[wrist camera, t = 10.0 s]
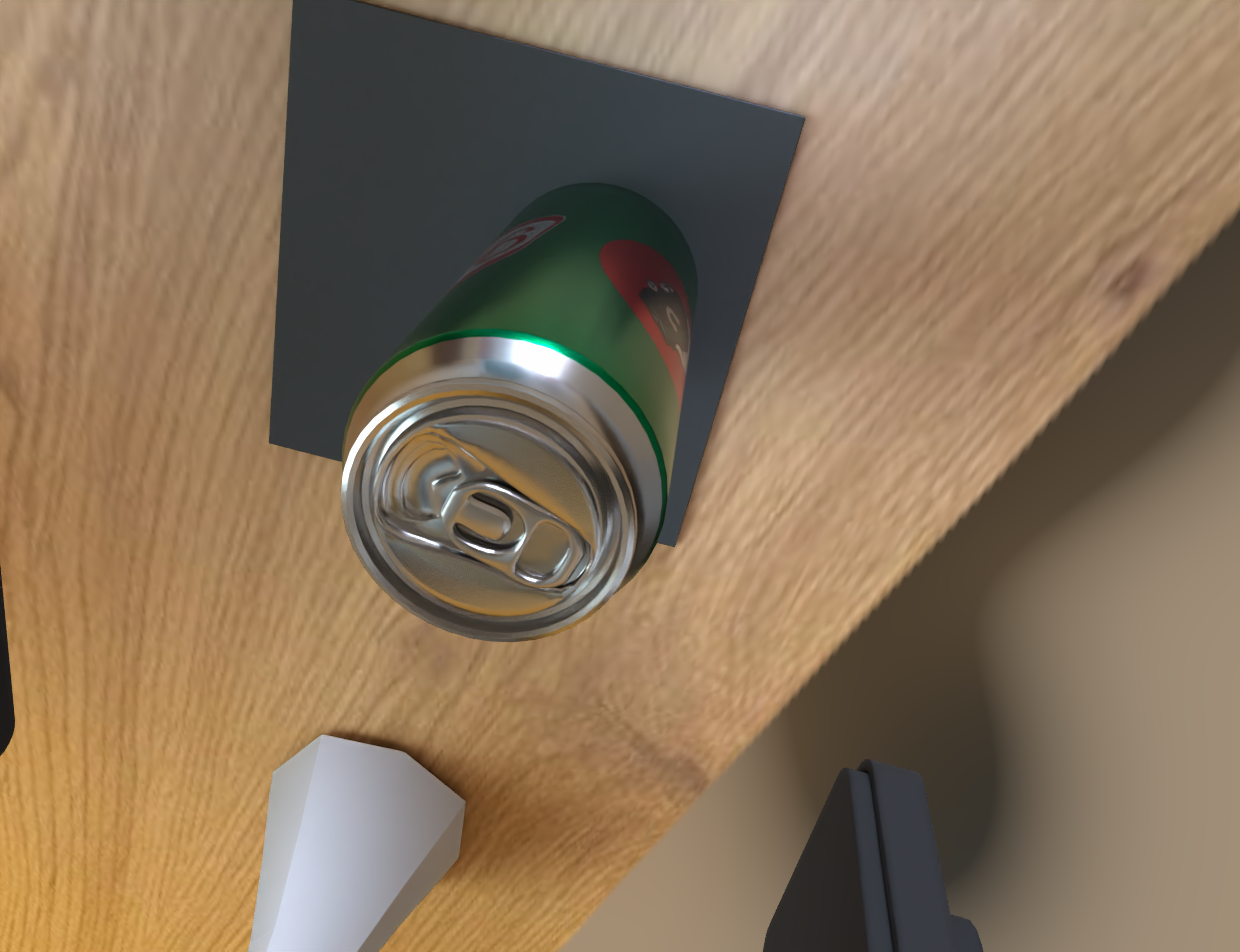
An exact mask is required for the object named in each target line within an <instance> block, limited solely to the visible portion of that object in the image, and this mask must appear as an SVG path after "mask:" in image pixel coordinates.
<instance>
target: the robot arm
mask: <svg viewBox="0 0 1240 952" xmlns="http://www.w3.org/2000/svg"><path fill="white" fill-rule="evenodd" d="M14 728H15V716H14V705H13V694H12V684H11V673H10V662H9V652H8V641H7V631H6V620H5V609H4V599H3V588H2V577H1V567H0V756H1V755H2V753H3V752H4V751H5V749H6V748H7V746H8V744H9V742H10V740H11V738H12V735H13V732H14ZM763 952H983V948H982V944H981V941H980V938H979V935H978V932H977V930H976V928H975V927H974V925H973V924H972V923H971V921H970V920H968V919H965V918H962V917H959V916H954V915H951V914H950V911H949V906H948V901H947V897H946V891H945V886H944V881H943V876H942V871H941V867H940V861H939V856H938V852H937V847H936V842H935V837H934V832H933V827H932V822H931V817H930V812H929V807H928V803H927V797H926V793H925V788H924V783H923V780H922V777H921V776H920V775H919V774H918V772H914V771H911V770H907V769H903V768H899V767H896V766H892V765H888V764H884V763H881V762H877V761H873V760H869V759H865V760H864V761H863V762H862V763H861V764H860V766H859V767H858V769H857V770H853V769H849V768H843V769H842V770H841V771H840V773H839V775H838V777H837V779H836V781H835V783H834V785H833V788H832V790H831V792H830V794H829V796H828V799H827V801H826V803H825V805H824V807H823V809H822V811H821V814H820V816H819V818H818V820H817V822H816V825H815V827H814V829H813V831H812V833H811V835H810V838H809V840H808V842H807V844H806V847H805V849H804V851H803V853H802V855H801V857H800V859H799V862H798V864H797V866H796V868H795V870H794V872H793V875H792V877H791V879H790V881H789V883H788V885H787V888H786V890H785V892H784V894H783V896H782V899H781V901H780V903H779V905H778V907H777V909H776V912H775V914H774V916H773V918H772V920H771V923H770V925H769V927H768V930H767V934H766V938H765V943H764V949H763Z"/></svg>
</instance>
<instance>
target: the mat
mask: <svg viewBox="0 0 1240 952" xmlns="http://www.w3.org/2000/svg"><path fill="white" fill-rule="evenodd" d="M804 121H805V117H804V116H801V115H797V114H793V113H789V112H785V111H781V110H777V109H773V108H770V107H766V106H762V105H758V104H754V103H750V102H746V101H743V100H739V99H735V98H731V97H727V96H723V95H719V94H715V93H712V92H708V91H704V90H700V89H696V88H692V87H688V86H685V85H681V84H677V83H673V82H669V81H665V80H661V79H657V78H654V77H650V76H646V75H642V74H638V73H634V72H630V71H627V70H623V69H619V68H615V67H611V66H607V65H603V64H599V63H596V62H592V61H588V60H584V59H580V58H576V57H572V56H569V55H565V54H561V53H557V52H553V51H549V50H545V49H541V48H538V47H534V46H530V45H526V44H522V43H518V42H514V41H511V40H507V39H503V38H499V37H495V36H491V35H487V34H483V33H480V32H476V31H472V30H468V29H464V28H460V27H456V26H453V25H449V24H445V23H441V22H437V21H433V20H429V19H425V18H422V17H418V16H414V15H410V14H406V13H402V12H398V11H395V10H391V9H387V8H383V7H379V6H375V5H371V4H368V3H364V2H360V1H356V0H293V10H292V29H291V47H290V66H289V84H288V102H287V121H286V139H285V158H284V176H283V194H282V213H281V231H280V250H279V268H278V286H277V305H276V323H275V342H274V360H273V379H272V397H271V415H270V434H269V443H271V444H275V445H278V446H282V447H286V448H290V449H294V450H298V451H302V452H306V453H310V454H314V455H317V456H321V457H325V458H329V459H333V460H337V461H341V462H342V447H343V440H344V433H345V427H346V425H347V422H348V419H349V416H350V413H351V410H352V407H353V405H354V403H355V402H356V400H357V398H358V396H359V394H360V393H361V391H362V389H363V387H364V386H365V385H366V383H367V382H368V381H369V380H370V379H371V378H372V376H373V375H374V374H375V373H376V372H377V370H378V369H379V368H380V367H381V366H382V365H383V364H384V363H385V361H386V360H387V359H388V358H389V357H390V356H391V355H392V354H393V353H394V351H395V350H396V349H397V348H398V347H399V346H400V345H401V344H402V343H403V341H404V340H405V339H406V338H407V337H408V336H409V335H410V334H411V333H412V331H413V330H414V329H415V328H416V327H417V326H418V325H419V324H420V323H421V321H422V320H423V319H424V318H425V317H426V316H427V315H428V314H429V313H430V312H431V310H432V309H433V308H434V307H435V306H436V305H437V304H438V303H439V302H440V300H441V299H442V298H443V297H444V296H445V295H446V294H447V293H448V292H449V290H450V289H451V288H452V287H453V286H454V285H455V284H456V283H457V282H458V280H459V279H460V278H461V277H462V276H463V275H464V274H465V273H466V272H467V270H468V269H469V268H470V267H471V266H472V265H473V264H474V263H475V262H476V260H477V259H478V258H479V257H480V256H481V255H482V254H483V253H484V252H485V250H486V249H487V248H488V247H489V246H490V245H491V244H492V243H493V242H494V240H495V239H496V238H497V237H498V236H499V235H500V234H501V233H502V232H503V230H504V229H505V228H506V227H507V226H508V225H509V224H510V223H511V222H512V220H513V219H514V218H515V217H516V216H517V215H518V214H519V213H520V212H521V210H523V209H524V208H525V207H526V206H527V205H529V204H530V203H531V202H532V201H533V200H535V199H537V198H538V197H540V196H542V195H543V194H545V193H547V192H549V191H552V190H554V189H557V188H560V187H562V186H566V185H571V184H576V183H592V182H597V183H605V184H612V185H616V186H620V187H623V188H626V189H629V190H632V191H634V192H636V193H638V194H640V195H642V196H644V197H646V198H647V199H649V200H650V201H651V202H653V203H654V204H656V205H657V206H659V207H660V208H661V209H662V210H663V211H664V212H665V213H666V214H667V215H668V216H669V217H670V218H671V219H672V220H673V221H674V223H675V224H676V225H677V227H678V228H679V229H680V231H681V232H682V234H683V236H684V238H685V239H686V241H687V243H688V245H689V247H690V250H691V253H692V256H693V259H694V262H695V267H696V272H697V278H698V296H697V303H696V310H695V317H694V324H693V330H692V337H691V344H690V351H689V358H688V365H687V372H686V378H685V385H684V392H683V399H682V406H681V413H680V420H679V427H678V433H677V440H676V447H675V454H674V461H673V468H672V475H671V482H670V488H669V495H668V502H667V509H666V515H665V522H664V525H663V527H662V530H661V533H660V536H659V539H658V542H657V543H660V544H664V545H668V546H672V547H675V545H676V542H677V539H678V535H679V532H680V529H681V525H682V522H683V519H684V516H685V512H686V509H687V506H688V502H689V499H690V496H691V493H692V489H693V486H694V483H695V479H696V476H697V473H698V470H699V466H700V463H701V460H702V456H703V453H704V450H705V446H706V443H707V440H708V437H709V433H710V430H711V427H712V423H713V420H714V417H715V414H716V410H717V407H718V404H719V400H720V397H721V394H722V391H723V387H724V384H725V381H726V377H727V374H728V371H729V367H730V364H731V361H732V358H733V354H734V351H735V348H736V344H737V341H738V338H739V335H740V331H741V328H742V325H743V321H744V318H745V315H746V312H747V308H748V305H749V302H750V298H751V295H752V292H753V288H754V285H755V282H756V279H757V275H758V272H759V269H760V265H761V262H762V259H763V256H764V252H765V249H766V246H767V242H768V239H769V236H770V232H771V229H772V226H773V223H774V219H775V216H776V213H777V209H778V206H779V203H780V200H781V196H782V193H783V190H784V186H785V183H786V180H787V177H788V173H789V170H790V167H791V163H792V160H793V157H794V153H795V150H796V147H797V144H798V140H799V137H800V134H801V130H802V127H803V124H804Z"/></svg>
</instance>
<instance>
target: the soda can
mask: <svg viewBox="0 0 1240 952" xmlns="http://www.w3.org/2000/svg"><path fill="white" fill-rule="evenodd" d="M697 296H698V278H697V272H696V267H695V262H694V259H693V256H692V253H691V250H690V247H689V245H688V243H687V241H686V239H685V238H684V236H683V234H682V232H681V231H680V229H679V228H678V227H677V225H676V224H675V223H674V221H673V220H672V219H671V218H670V217H669V216H668V215H667V214H666V213H665V212H664V211H663V210H662V209H661V208H660V207H659V206H657V205H656V204H654V203H653V202H651V201H650V200H649V199H647V198H646V197H644V196H642V195H640V194H638V193H636V192H634V191H632V190H629V189H626V188H623V187H620V186H616V185H612V184H605V183H597V182H592V183H576V184H571V185H566V186H562V187H560V188H557V189H554V190H552V191H549V192H547V193H545V194H543V195H542V196H540V197H538V198H537V199H535V200H533V201H532V202H531V203H530V204H529V205H527V206H526V207H525V208H524V209H523V210H521V212H520V213H519V214H518V215H517V216H516V217H515V218H514V219H513V220H512V222H511V223H510V224H509V225H508V226H507V227H506V228H505V229H504V230H503V232H502V233H501V234H500V235H499V236H498V237H497V238H496V239H495V240H494V242H493V243H492V244H491V245H490V246H489V247H488V248H487V249H486V250H485V252H484V253H483V254H482V255H481V256H480V257H479V258H478V259H477V260H476V262H475V263H474V264H473V265H472V266H471V267H470V268H469V269H468V270H467V272H466V273H465V274H464V275H463V276H462V277H461V278H460V279H459V280H458V282H457V283H456V284H455V285H454V286H453V287H452V288H451V289H450V290H449V292H448V293H447V294H446V295H445V296H444V297H443V298H442V299H441V300H440V302H439V303H438V304H437V305H436V306H435V307H434V308H433V309H432V310H431V312H430V313H429V314H428V315H427V316H426V317H425V318H424V319H423V320H422V321H421V323H420V324H419V325H418V326H417V327H416V328H415V329H414V330H413V331H412V333H411V334H410V335H409V336H408V337H407V338H406V339H405V340H404V341H403V343H402V344H401V345H400V346H399V347H398V348H397V349H396V350H395V351H394V353H393V354H392V355H391V356H390V357H389V358H388V359H387V360H386V361H385V363H384V364H383V365H382V366H381V367H380V368H379V369H378V370H377V372H376V373H375V374H374V375H373V376H372V378H371V379H370V380H369V381H368V382H367V383H366V385H365V386H364V387H363V389H362V391H361V393H360V394H359V396H358V398H357V400H356V402H355V403H354V405H353V407H352V410H351V413H350V416H349V419H348V422H347V425H346V427H345V433H344V440H343V447H342V465H343V480H342V487H341V500H342V513H343V518H344V522H345V527H346V531H347V533H348V536H349V539H350V541H351V544H352V546H353V549H354V551H355V552H356V554H357V556H358V558H359V559H360V561H361V563H362V565H363V566H364V568H365V569H366V570H367V572H368V573H369V574H370V576H371V577H372V578H373V579H374V581H375V582H376V583H377V584H378V585H379V586H380V587H381V588H382V589H383V590H384V591H385V592H386V593H387V594H388V595H389V596H390V597H391V598H392V599H393V600H394V601H396V602H397V603H398V604H400V605H401V606H402V607H404V608H405V609H406V610H407V611H409V612H410V613H412V614H414V615H415V616H417V617H419V618H421V619H422V620H424V621H426V622H427V623H429V624H432V625H434V626H436V627H439V628H441V629H443V630H446V631H448V632H451V633H455V634H458V635H461V636H465V637H468V638H473V639H480V640H486V641H495V642H518V641H528V640H536V639H540V638H544V637H548V636H552V635H555V634H558V633H560V632H563V631H565V630H567V629H570V628H572V627H574V626H576V625H577V624H579V623H581V622H582V621H584V620H586V619H587V618H589V617H590V616H592V615H593V614H594V613H595V612H596V611H597V610H599V609H600V608H601V607H602V606H603V605H604V604H605V603H606V602H607V601H608V600H609V598H610V597H611V596H612V595H614V594H615V593H616V592H618V591H619V590H620V589H621V588H622V587H623V586H625V585H626V584H627V583H628V582H629V581H630V580H632V579H633V578H634V576H635V575H636V574H637V573H638V572H639V570H640V569H641V568H642V567H643V565H644V564H645V563H646V562H647V560H648V558H649V556H650V555H651V553H652V551H653V549H654V548H655V546H656V544H657V542H658V539H659V536H660V533H661V530H662V527H663V525H664V522H665V515H666V509H667V502H668V495H669V488H670V482H671V475H672V468H673V461H674V454H675V447H676V440H677V433H678V427H679V420H680V413H681V406H682V399H683V392H684V385H685V378H686V372H687V365H688V358H689V351H690V344H691V337H692V330H693V324H694V317H695V310H696V303H697Z"/></svg>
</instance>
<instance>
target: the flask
mask: <svg viewBox="0 0 1240 952" xmlns="http://www.w3.org/2000/svg"><path fill="white" fill-rule="evenodd" d="M465 805H466V801H465V800H463V799H462V798H461V797H460V796H458V795H457V794H456V793H455V792H453V791H452V790H451V789H450V788H448V787H447V786H446V785H445V784H443V783H442V782H441V781H440V780H439V779H437V778H436V777H435V776H434V775H432V774H431V773H430V772H429V771H427V770H426V769H425V768H424V767H422V766H421V765H420V764H419V763H417V762H416V761H415V760H414V759H413V758H411V757H410V756H409V755H408V754H406V753H405V752H403V751H398V750H393V749H389V748H384V747H379V746H375V745H370V744H365V743H360V742H356V741H351V740H346V739H342V738H337V737H332V736H328V735H323V734H321V735H320V736H319V737H318V738H316V739H315V740H314V741H312V742H311V743H310V744H309V745H307V746H306V747H305V748H303V749H302V750H301V751H300V752H298V753H297V754H296V755H294V756H293V757H292V758H291V759H289V760H288V761H287V762H285V763H284V764H283V765H282V766H280V767H279V768H278V769H276V770H275V771H274V772H273V774H272V781H271V788H270V795H269V804H268V813H267V822H266V831H265V841H264V850H263V859H262V867H261V873H260V880H259V887H258V893H257V900H256V907H255V914H254V920H253V927H252V934H251V940H250V945H249V949H248V952H379V950H380V949H381V948H382V947H383V945H384V944H385V943H386V942H387V941H388V939H389V938H390V937H391V936H392V934H393V933H394V932H395V931H396V930H397V928H398V927H399V926H400V925H401V924H402V922H403V921H404V920H405V919H406V918H407V917H408V916H409V914H410V913H411V912H412V911H413V910H414V909H415V908H416V907H417V905H418V904H419V903H420V902H421V901H422V900H423V899H424V898H425V896H426V895H427V894H428V893H429V892H430V891H431V890H432V889H433V887H434V886H435V885H436V884H437V883H438V882H439V881H440V880H441V878H442V877H443V876H444V875H445V874H446V873H447V871H448V870H449V869H450V868H451V866H452V865H453V864H454V863H455V862H456V860H457V859H458V858H459V853H460V845H461V837H462V829H463V821H464V813H465Z"/></svg>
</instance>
